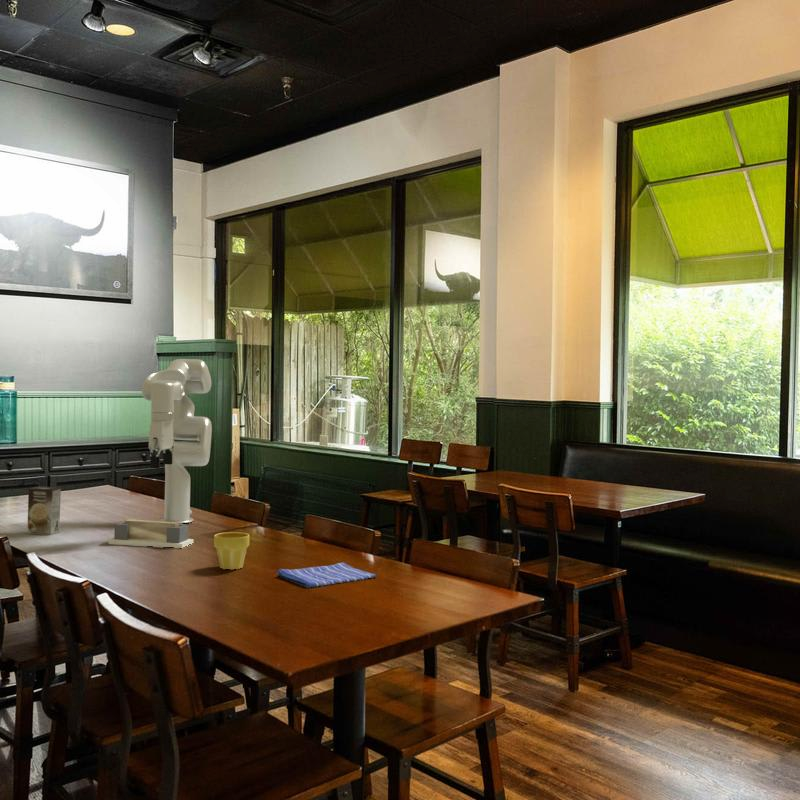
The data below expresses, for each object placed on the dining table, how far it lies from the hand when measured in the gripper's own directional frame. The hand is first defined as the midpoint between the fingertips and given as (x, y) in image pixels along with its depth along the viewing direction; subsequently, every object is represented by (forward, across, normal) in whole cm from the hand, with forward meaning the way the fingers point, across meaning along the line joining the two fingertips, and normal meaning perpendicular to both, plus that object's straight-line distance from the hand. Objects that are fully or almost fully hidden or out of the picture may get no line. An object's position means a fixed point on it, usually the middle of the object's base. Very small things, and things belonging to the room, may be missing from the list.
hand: (161, 466), depth 281 cm
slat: (+23, +11, +2) cm, 26 cm away
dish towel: (+23, +41, +70) cm, 84 cm away
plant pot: (+23, +37, +40) cm, 59 cm away
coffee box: (+26, +4, -42) cm, 49 cm away
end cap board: (+25, +11, +2) cm, 27 cm away
